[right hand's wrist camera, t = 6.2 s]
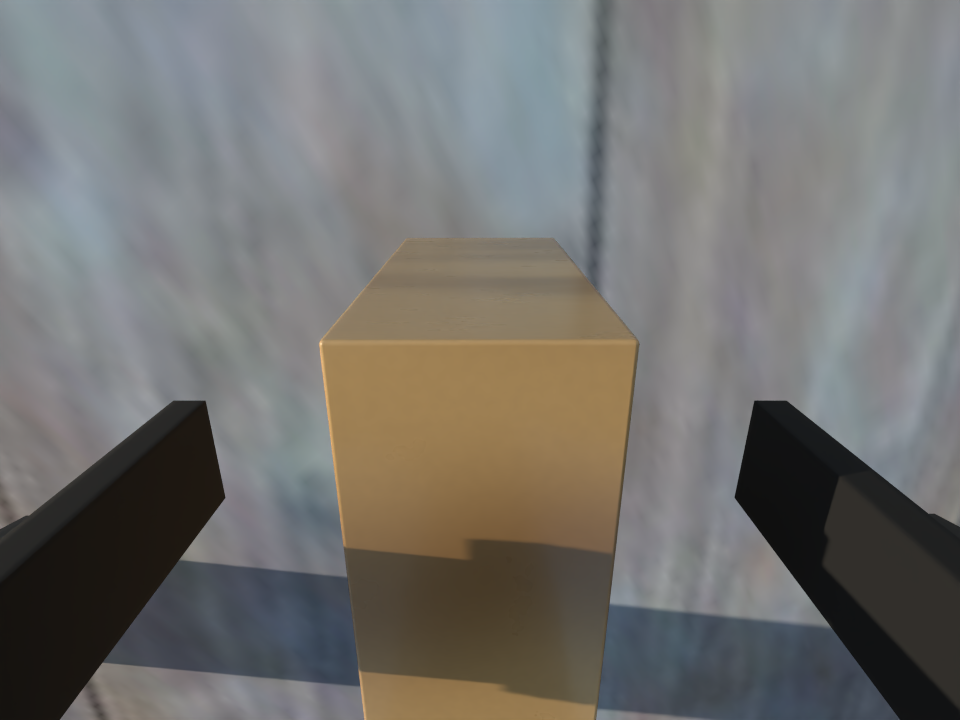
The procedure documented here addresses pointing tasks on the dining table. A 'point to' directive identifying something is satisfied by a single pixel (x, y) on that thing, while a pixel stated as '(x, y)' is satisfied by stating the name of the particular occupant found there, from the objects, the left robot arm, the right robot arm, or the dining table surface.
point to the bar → (479, 478)
